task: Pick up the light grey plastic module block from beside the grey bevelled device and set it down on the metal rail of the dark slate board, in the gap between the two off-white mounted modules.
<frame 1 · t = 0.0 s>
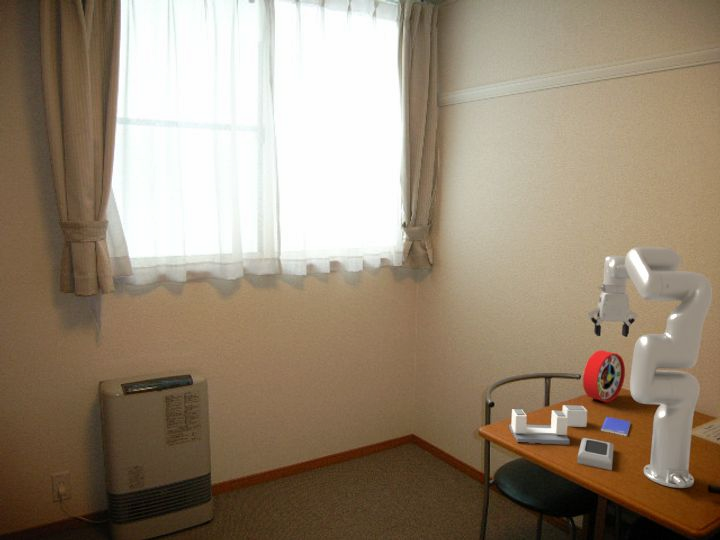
hand: (611, 335, 196), 31 cm above the table, tool pointing down, fingers open, 9 cm apart
toy clock: (602, 400, 218), on the table
module block: (573, 424, 193), on the table
grey bevelled device: (595, 458, 167), on the table
hard drive: (615, 429, 190), on the table
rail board: (538, 436, 182), on the table
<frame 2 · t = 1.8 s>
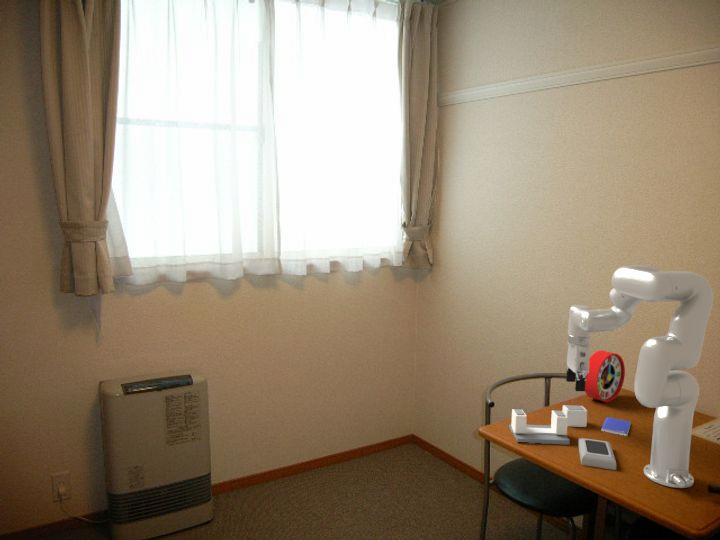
hand: (575, 386, 192), 14 cm above the table, tool pointing down, fingers open, 9 cm apart
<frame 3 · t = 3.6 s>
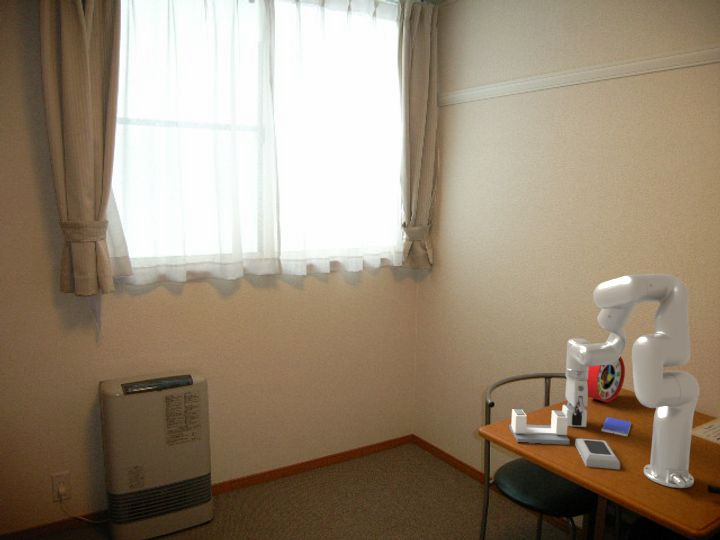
hand: (573, 421, 193), 1 cm above the table, tool pointing down, fingers closed on module block, 5 cm apart
module block: (573, 423, 193), on the table, touching gripper
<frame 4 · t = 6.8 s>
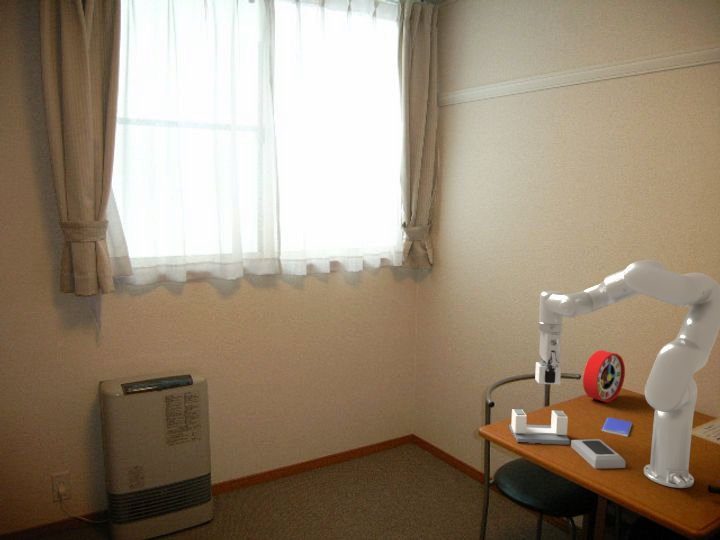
hand: (547, 379, 182), 19 cm above the table, tool pointing down, fingers closed on module block, 5 cm apart
module block: (547, 381, 182), point 19 cm above the table, touching gripper
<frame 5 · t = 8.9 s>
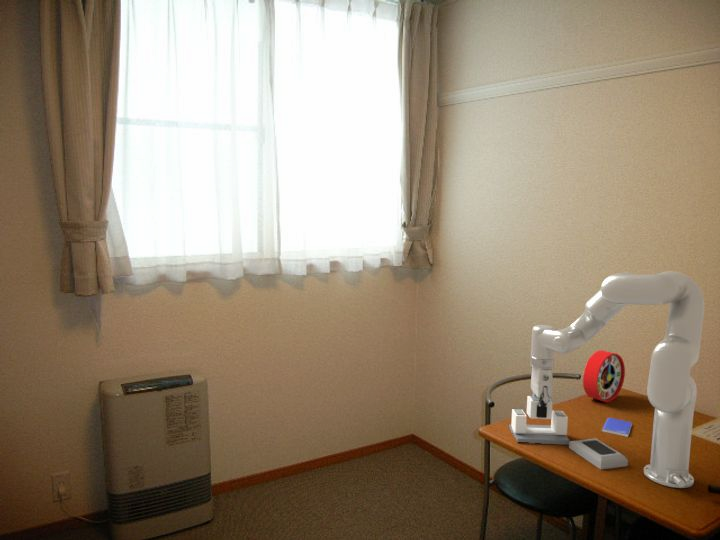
hand: (539, 413, 181), 8 cm above the table, tool pointing down, fingers closed on module block, 5 cm apart
module block: (538, 415, 181), point 7 cm above the table, touching gripper
when the fingers open (4 cm above the table, at t = 10.3 s): module block stays where it is, resting on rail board.
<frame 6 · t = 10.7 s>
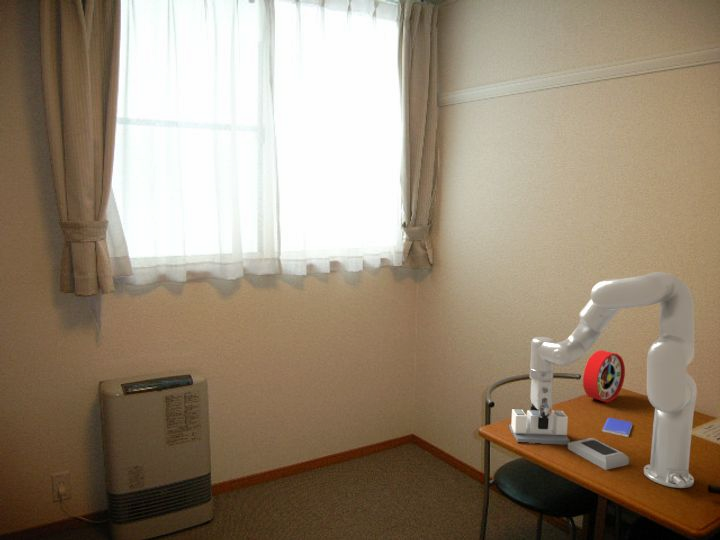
hand: (538, 423, 181), 5 cm above the table, tool pointing down, fingers open, 9 cm apart
module block: (538, 430, 182), point 2 cm above the table, touching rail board
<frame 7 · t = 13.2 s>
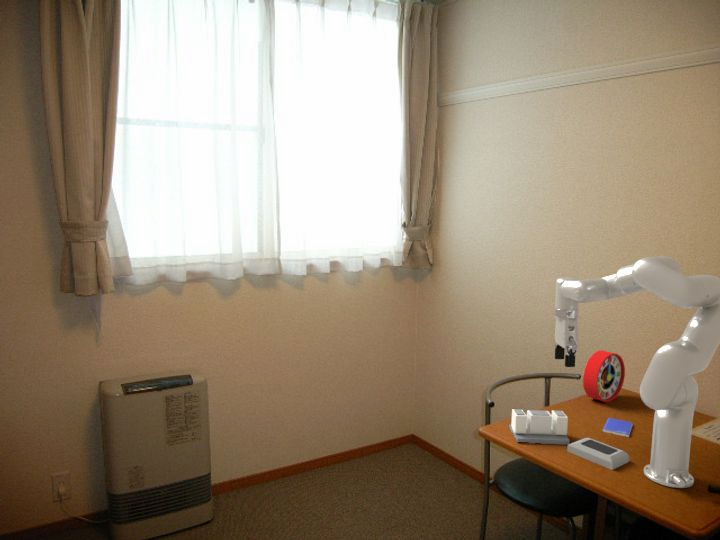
hand: (564, 362, 183), 25 cm above the table, tool pointing down, fingers open, 9 cm apart
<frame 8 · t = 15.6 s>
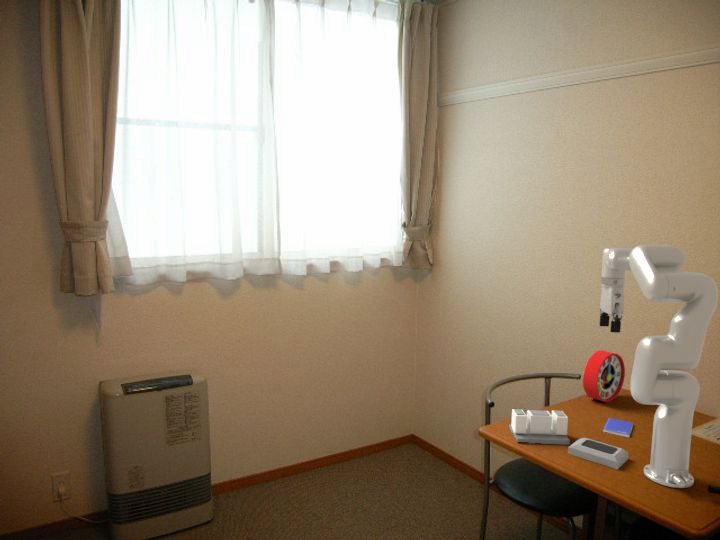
hand: (609, 329, 192), 34 cm above the table, tool pointing down, fingers open, 9 cm apart
at the end: module block 0.0 cm off-centre on the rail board, point 2.1 cm above the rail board's base; module block tilted 0°; the gripper is holding nothing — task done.
